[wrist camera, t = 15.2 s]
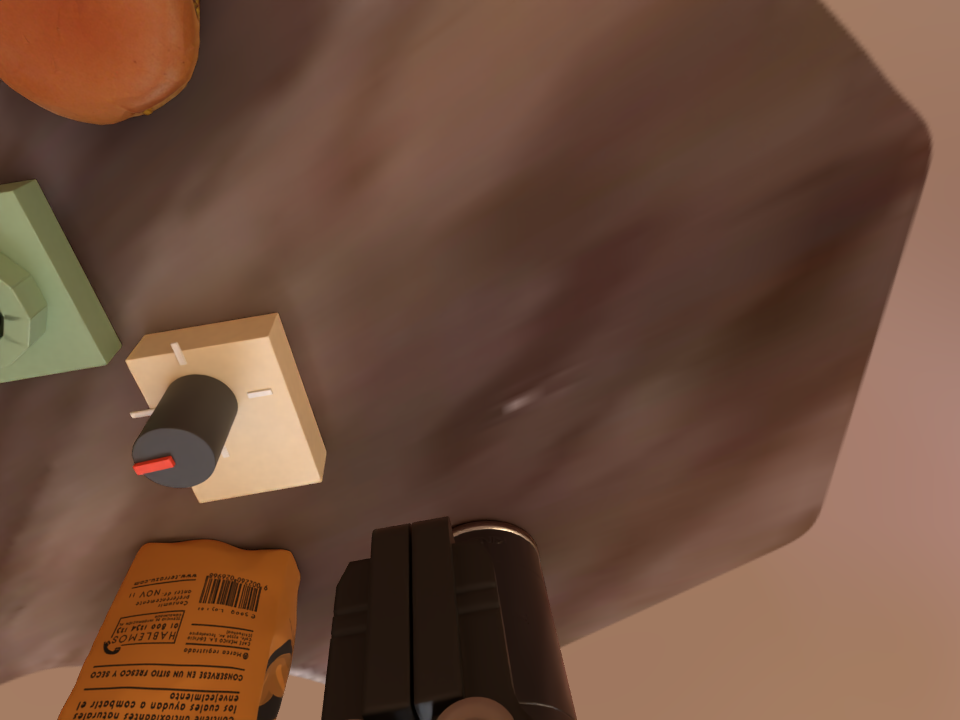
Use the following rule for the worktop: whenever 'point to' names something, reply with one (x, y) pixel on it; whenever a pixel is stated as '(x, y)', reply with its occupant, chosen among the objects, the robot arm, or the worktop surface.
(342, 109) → the worktop surface
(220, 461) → the panel
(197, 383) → the dial
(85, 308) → the button box
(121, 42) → the burger
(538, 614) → the robot arm
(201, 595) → the coffee package
